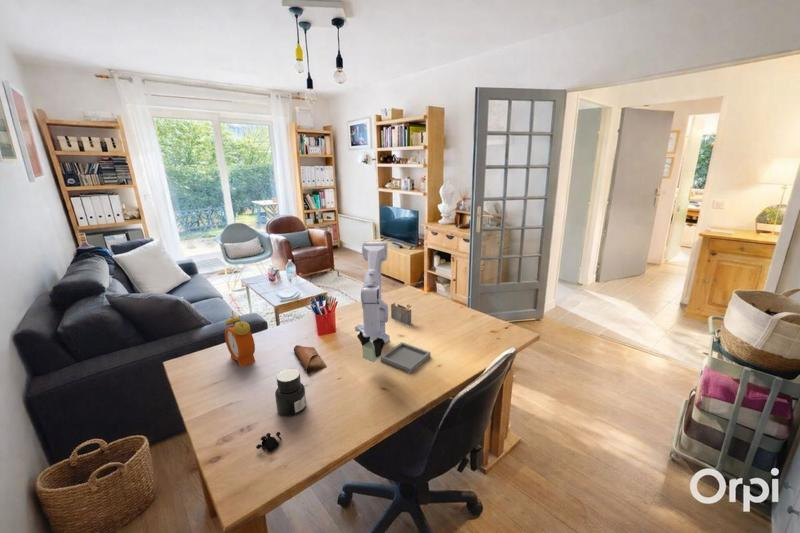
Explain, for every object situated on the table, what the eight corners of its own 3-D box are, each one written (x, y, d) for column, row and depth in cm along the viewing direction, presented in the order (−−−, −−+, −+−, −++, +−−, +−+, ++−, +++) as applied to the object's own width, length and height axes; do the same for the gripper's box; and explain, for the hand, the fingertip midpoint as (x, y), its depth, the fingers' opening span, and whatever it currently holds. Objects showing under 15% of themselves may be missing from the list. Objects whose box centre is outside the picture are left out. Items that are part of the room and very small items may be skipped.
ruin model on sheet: (411, 323, 166) (412, 305, 163) (407, 325, 164) (407, 307, 161) (395, 316, 173) (395, 298, 171) (391, 318, 171) (391, 300, 168)
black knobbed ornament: (262, 455, 90) (252, 441, 92) (262, 460, 91) (252, 446, 93) (286, 439, 95) (276, 426, 97) (285, 444, 96) (275, 431, 98)
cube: (362, 357, 125) (362, 345, 123) (371, 351, 129) (371, 340, 127) (373, 362, 122) (373, 349, 120) (382, 356, 126) (381, 344, 124)
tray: (380, 361, 134) (380, 356, 133) (401, 346, 144) (401, 342, 144) (410, 373, 126) (410, 368, 125) (430, 356, 136) (430, 352, 136)
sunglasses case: (329, 367, 130) (319, 356, 126) (314, 380, 128) (303, 370, 124) (313, 346, 144) (304, 336, 141) (300, 358, 142) (290, 348, 139)
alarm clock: (227, 356, 137) (219, 310, 131) (242, 350, 142) (236, 305, 136) (241, 369, 129) (234, 320, 123) (257, 362, 133) (251, 315, 127)
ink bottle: (304, 416, 104) (301, 383, 101) (274, 420, 103) (270, 386, 100) (307, 396, 114) (304, 364, 110) (280, 399, 112) (276, 367, 109)
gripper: (348, 318, 122) (350, 352, 126) (380, 329, 114) (381, 365, 118) (362, 311, 127) (363, 344, 131) (393, 321, 119) (393, 356, 123)
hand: (372, 353), depth 125 cm, fingers closed on cube, 5 cm apart
